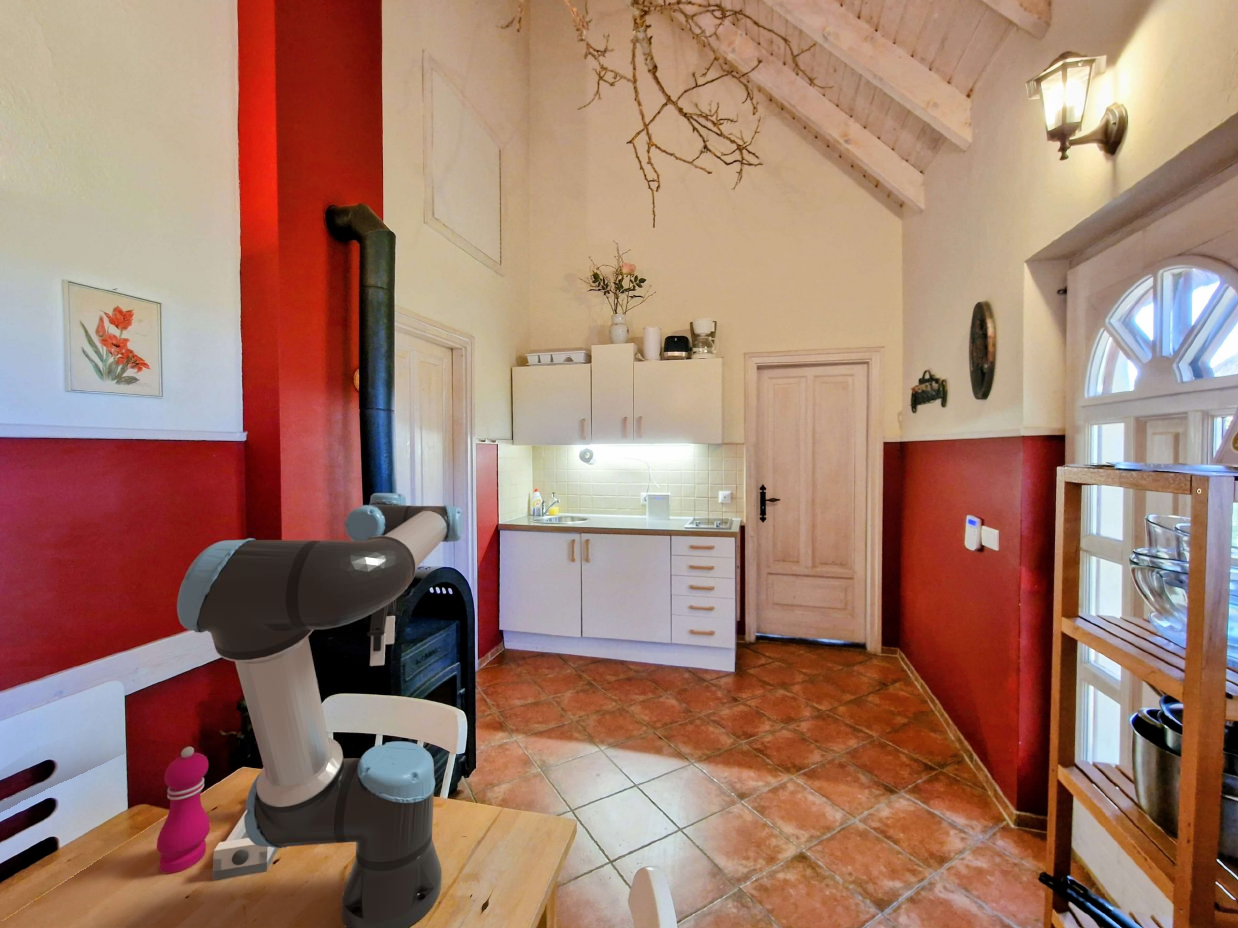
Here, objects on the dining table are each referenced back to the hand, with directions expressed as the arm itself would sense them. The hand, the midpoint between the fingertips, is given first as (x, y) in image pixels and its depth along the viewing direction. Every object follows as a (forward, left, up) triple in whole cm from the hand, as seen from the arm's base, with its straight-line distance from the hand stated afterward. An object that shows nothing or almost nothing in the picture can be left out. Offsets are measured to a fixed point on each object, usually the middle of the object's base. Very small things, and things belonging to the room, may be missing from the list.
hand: (382, 653), depth 114 cm
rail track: (-12, +18, -29) cm, 36 cm away
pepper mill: (-16, +29, -29) cm, 44 cm away
